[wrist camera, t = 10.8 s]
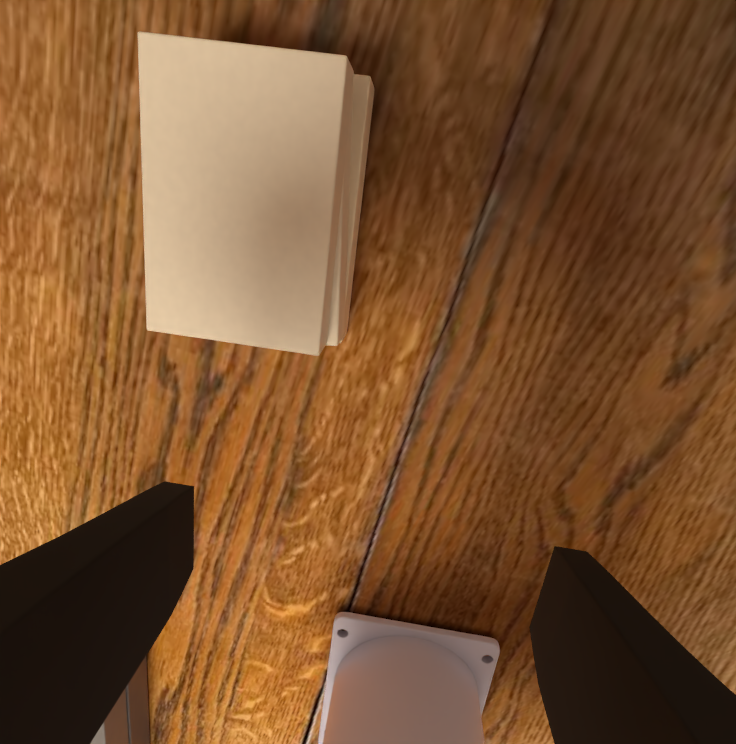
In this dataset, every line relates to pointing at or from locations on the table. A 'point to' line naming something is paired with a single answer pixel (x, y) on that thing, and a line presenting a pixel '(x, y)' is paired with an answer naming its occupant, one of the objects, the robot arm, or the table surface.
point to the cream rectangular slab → (241, 188)
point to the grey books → (128, 714)
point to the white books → (350, 206)
